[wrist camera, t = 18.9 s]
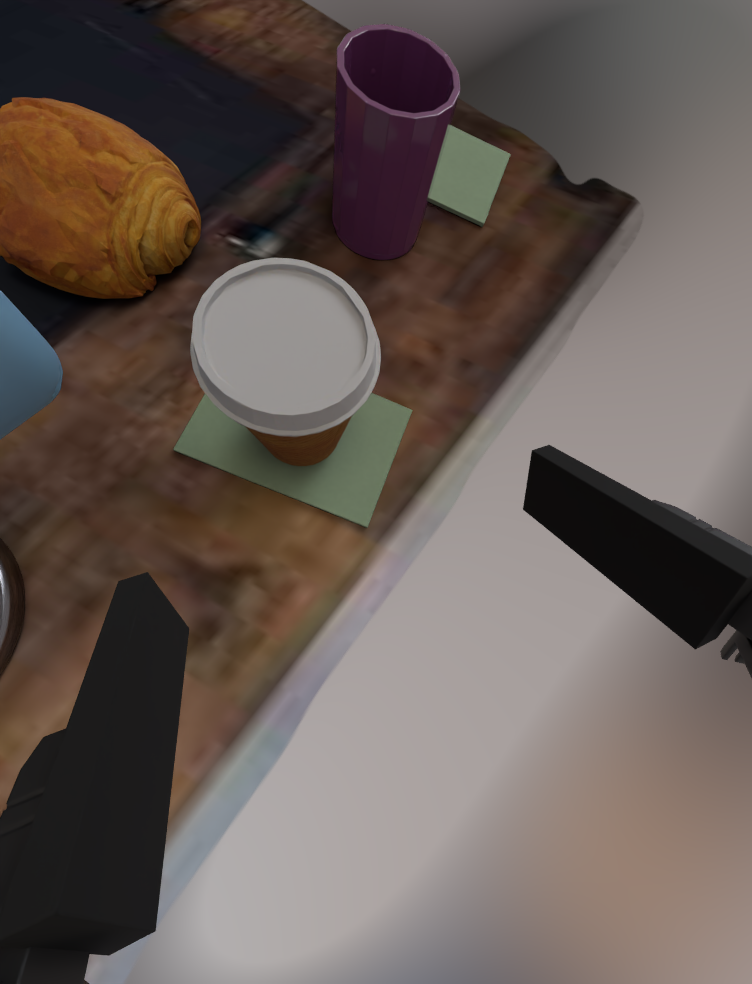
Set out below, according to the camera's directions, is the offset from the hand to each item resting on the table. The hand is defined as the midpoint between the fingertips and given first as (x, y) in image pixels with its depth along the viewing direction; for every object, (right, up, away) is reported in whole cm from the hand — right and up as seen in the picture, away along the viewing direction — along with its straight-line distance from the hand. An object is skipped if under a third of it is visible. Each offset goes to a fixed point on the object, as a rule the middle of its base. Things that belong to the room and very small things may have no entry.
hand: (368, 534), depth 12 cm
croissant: (-23, +23, +18) cm, 37 cm away
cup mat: (-6, +7, +17) cm, 19 cm away
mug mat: (+6, +37, +25) cm, 45 cm away
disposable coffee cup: (-6, +7, +16) cm, 19 cm away
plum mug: (0, +29, +23) cm, 37 cm away
